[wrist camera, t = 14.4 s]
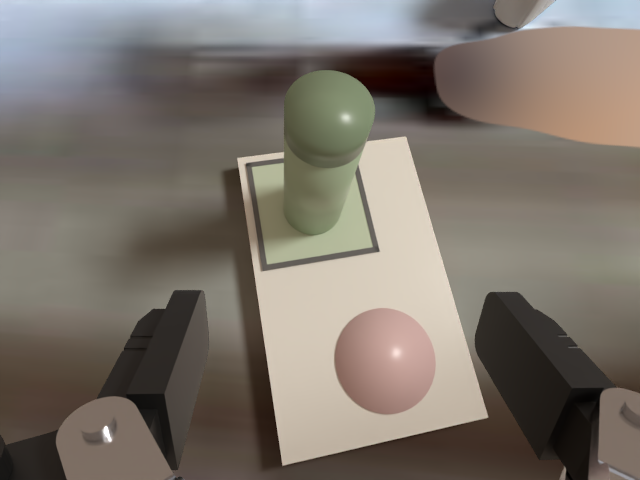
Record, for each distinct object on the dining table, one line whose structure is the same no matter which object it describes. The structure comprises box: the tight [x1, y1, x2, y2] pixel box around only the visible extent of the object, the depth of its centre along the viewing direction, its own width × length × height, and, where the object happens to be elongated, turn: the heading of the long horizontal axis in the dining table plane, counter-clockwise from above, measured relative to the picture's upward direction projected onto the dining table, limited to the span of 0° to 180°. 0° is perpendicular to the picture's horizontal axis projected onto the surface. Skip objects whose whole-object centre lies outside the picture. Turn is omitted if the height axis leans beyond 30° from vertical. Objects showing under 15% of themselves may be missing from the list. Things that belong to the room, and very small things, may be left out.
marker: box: [284, 70, 375, 235], centre depth 25 cm, size 4×4×12 cm
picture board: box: [237, 137, 488, 466], centre depth 30 cm, size 14×22×2 cm, turn 11°
